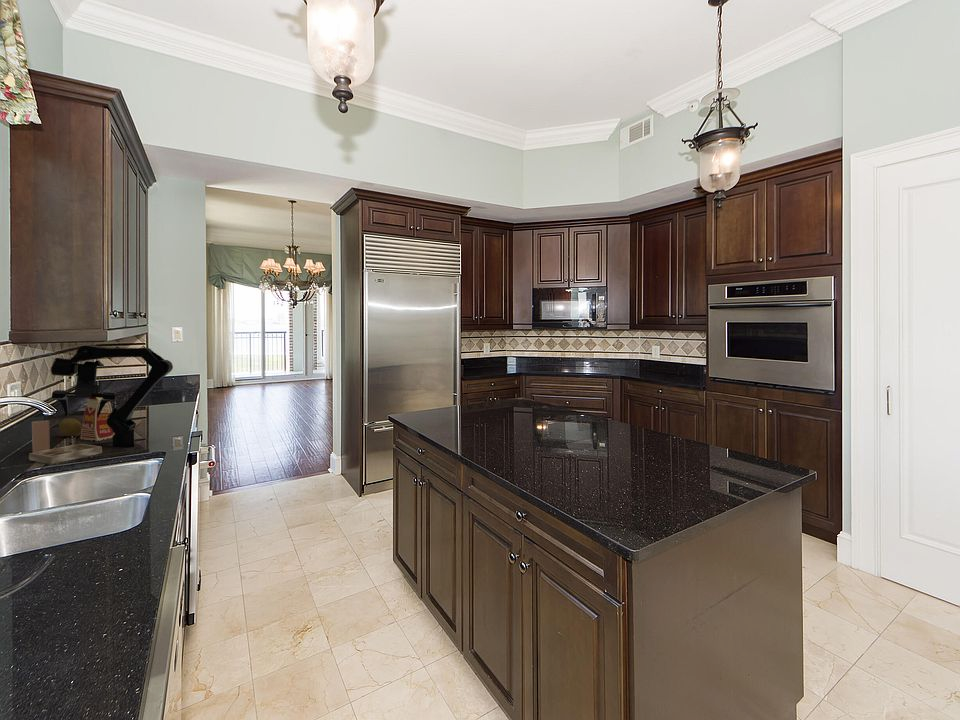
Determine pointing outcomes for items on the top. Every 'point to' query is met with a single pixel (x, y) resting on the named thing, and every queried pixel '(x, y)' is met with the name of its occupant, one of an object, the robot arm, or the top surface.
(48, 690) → the top surface
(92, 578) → the top surface
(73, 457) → the beige tray
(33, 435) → the pink rectangular block
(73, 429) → the potato
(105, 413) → the milk carton
